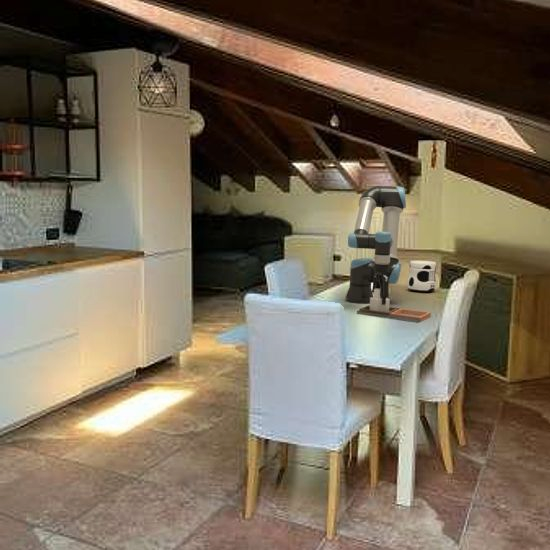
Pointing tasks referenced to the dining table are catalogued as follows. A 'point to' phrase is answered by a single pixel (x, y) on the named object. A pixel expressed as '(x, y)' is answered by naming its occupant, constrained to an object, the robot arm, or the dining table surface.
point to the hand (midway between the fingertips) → (379, 309)
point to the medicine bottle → (378, 301)
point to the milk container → (422, 276)
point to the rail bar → (388, 316)
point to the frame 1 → (367, 309)
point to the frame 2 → (422, 314)
